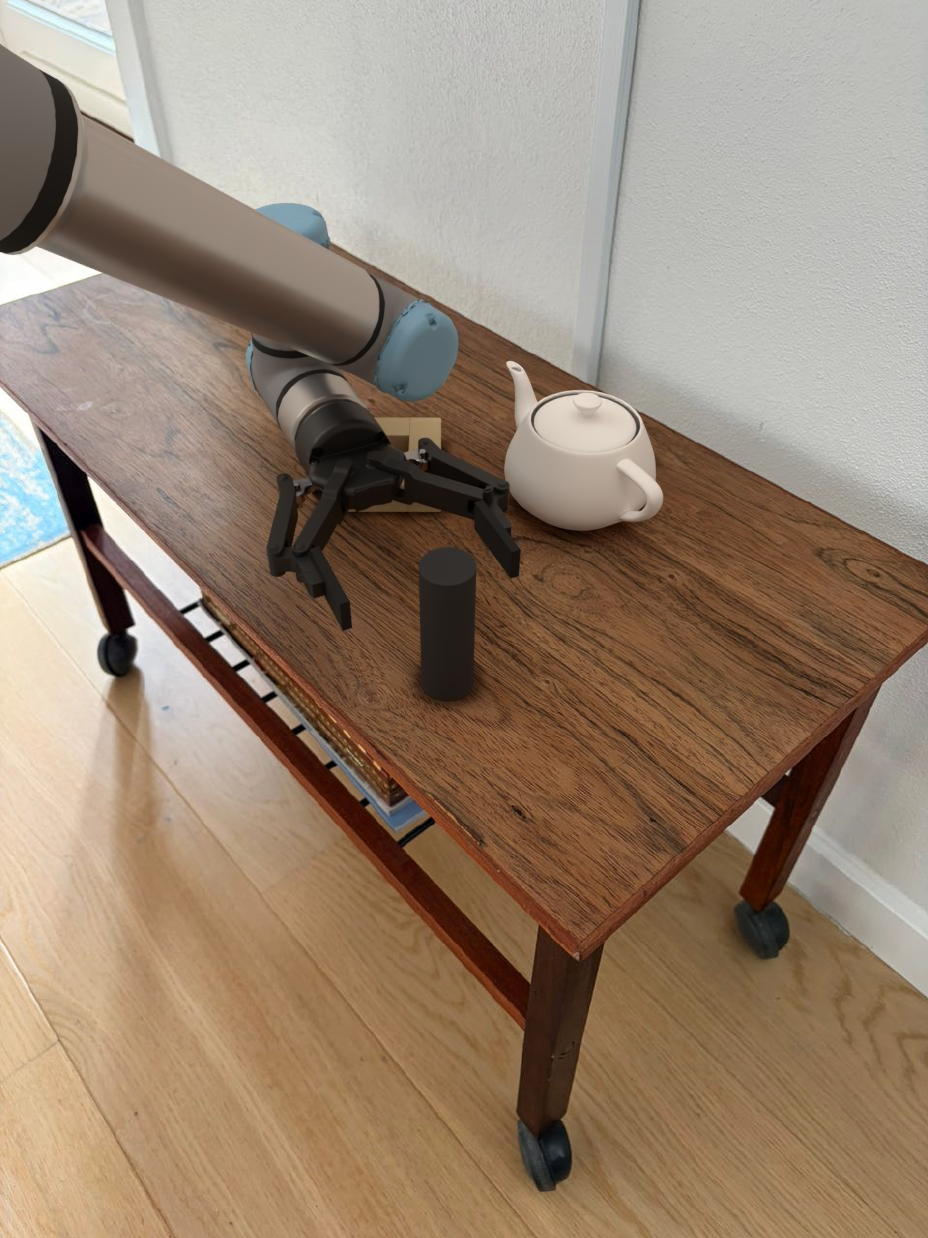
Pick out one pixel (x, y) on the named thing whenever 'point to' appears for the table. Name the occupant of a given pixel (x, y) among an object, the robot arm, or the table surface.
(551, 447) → the teapot
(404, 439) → the base pad
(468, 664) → the black cylinder peg
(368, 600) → the table surface
